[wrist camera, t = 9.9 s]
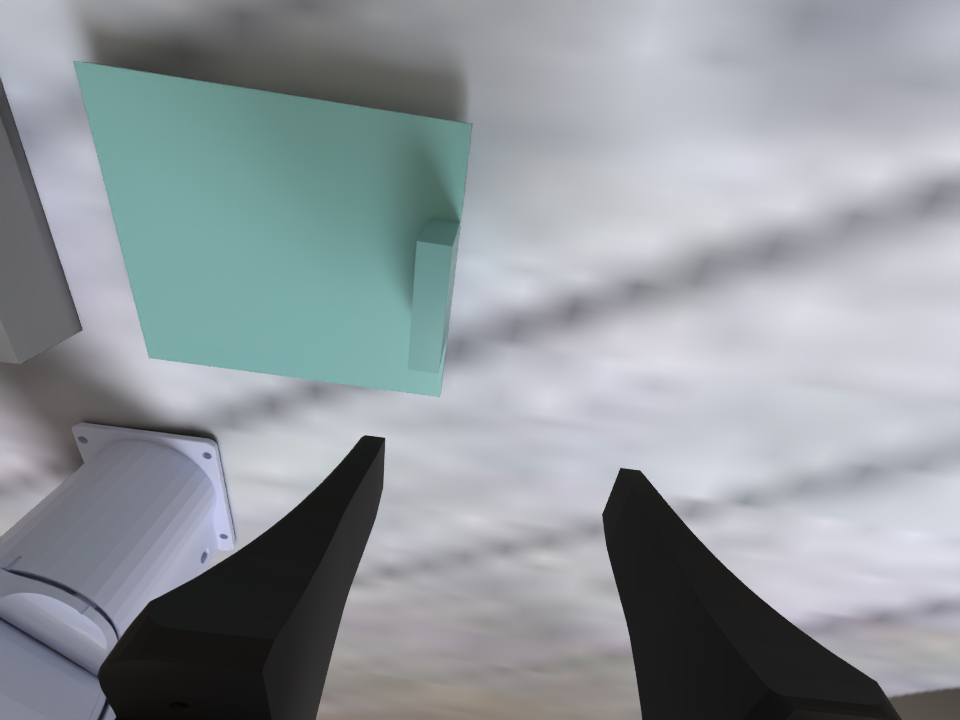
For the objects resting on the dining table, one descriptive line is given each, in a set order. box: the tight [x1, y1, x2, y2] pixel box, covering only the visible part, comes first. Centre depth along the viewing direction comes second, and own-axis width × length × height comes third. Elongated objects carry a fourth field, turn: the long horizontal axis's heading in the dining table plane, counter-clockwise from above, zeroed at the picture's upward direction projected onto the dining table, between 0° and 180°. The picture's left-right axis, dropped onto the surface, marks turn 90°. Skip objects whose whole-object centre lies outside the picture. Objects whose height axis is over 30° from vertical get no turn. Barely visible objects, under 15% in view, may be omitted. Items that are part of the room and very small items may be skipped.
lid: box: [74, 61, 473, 397], centre depth 18 cm, size 12×14×5 cm
